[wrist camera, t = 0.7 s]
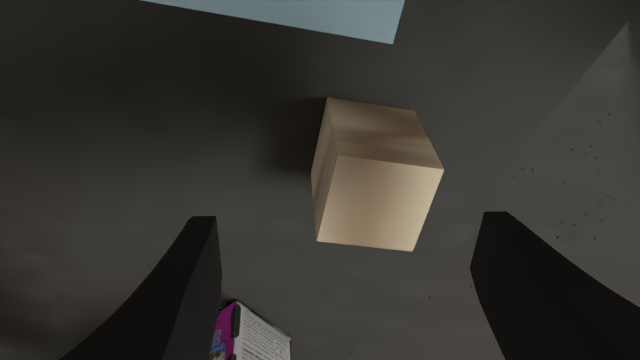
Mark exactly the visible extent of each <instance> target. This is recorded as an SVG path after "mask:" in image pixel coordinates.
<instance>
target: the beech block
mask: <svg viewBox="0 0 640 360" xmlns="http://www.w3.org/2000/svg"><path fill="white" fill-rule="evenodd" d="M443 171H444V168H443V166H442V164H441V162H440V160H439V158H438V156H437V154H436V152H435V150H434V148H433V146H432V144H431V142H430V140H429V138H428V136H427V134H426V132H425V130H424V129H423V127H422V125H421V123H420V121H419V119H418V117H417V115H416V113H415V111H414V110H407V109H401V108H394V107H388V106H381V105H375V104H368V103H362V102H355V101H349V100H342V99H336V98H330V97H327V101H326V106H325V110H324V115H323V119H322V124H321V129H320V133H319V138H318V142H317V147H316V151H315V156H314V161H313V165H312V170H311V182H312V194H313V205H314V216H315V227H316V238H317V241H321V242H330V243H339V244H348V245H358V246H367V247H376V248H385V249H395V250H404V251H413V249H414V247H415V244H416V242H417V239H418V236H419V234H420V231H421V229H422V226H423V223H424V221H425V218H426V216H427V213H428V210H429V208H430V205H431V203H432V200H433V197H434V195H435V192H436V190H437V187H438V184H439V182H440V179H441V177H442V174H443Z"/></svg>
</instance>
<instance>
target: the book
mask: <svg viewBox="0 0 640 360" xmlns="http://www.w3.org/2000/svg"><path fill="white" fill-rule="evenodd" d="M142 1H148V2H154V3H160V4H165V5H171V6H177V7H182V8H188V9H194V10H200V11H205V12H211V13H217V14H222V15H228V16H234V17H240V18H245V19H251V20H257V21H262V22H268V23H274V24H280V25H285V26H291V27H297V28H303V29H308V30H314V31H320V32H325V33H331V34H337V35H343V36H348V37H354V38H360V39H365V40H371V41H377V42H383V43H388V44H393V41H394V37H395V34H396V30H397V27H398V23H399V19H400V16H401V12H402V8H403V5H404V1H405V0H142Z"/></svg>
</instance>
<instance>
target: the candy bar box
mask: <svg viewBox="0 0 640 360" xmlns="http://www.w3.org/2000/svg"><path fill="white" fill-rule="evenodd" d="M209 360H292V357H291V339H290V337H289V336H288V335H287V334H286V333H284V332H283V331H281V330H280V329H279V328H278V327H276V326H274V325H272V324H271V323H269V322H268V321H266V320H264V319H263V318H261V317H260V316H259V315H257V314H256V313H255V312H253V311H252V310H251V309H249V308H248V307H246V306H245V305H243V304H242V303H240V302H239V301H234V302H232V303H231V304H229V305H228V306H227V307H225V308H224V309H222V310H221V311H220V312H218V316H217V321H216V326H215V331H214V336H213V340H212V345H211V350H210V355H209Z"/></svg>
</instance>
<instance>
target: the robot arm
mask: <svg viewBox="0 0 640 360" xmlns="http://www.w3.org/2000/svg"><path fill="white" fill-rule="evenodd" d="M470 270H471V274H472V278H473V281H474V285H475V288H476V292H477V295H478V298H479V301H480V304H481V306H482V308H483V311H484V313H485V315H486V317H487V320H488V322H489V324H490V327H491V329H492V331H493V333H494V335H495V338H496V340H497V342H498V344H499V346H500V349H501V351H502V353H503V355H504V358H505V360H640V307H638V306H636V305H635V304H633V303H631V302H630V301H628V300H626V299H625V298H623V297H621V296H620V295H618V294H617V293H615V292H613V291H612V290H610V289H609V288H607V287H606V286H604V285H603V284H601V283H600V282H598V281H597V280H596V279H594V278H593V277H591V276H590V275H588V274H587V273H586V272H584V271H583V270H581V269H580V268H579V267H577V266H576V265H575V264H573V263H572V262H570V261H569V260H568V259H567V258H565V257H564V256H563V255H561V254H560V253H559V252H557V251H556V250H555V249H554V248H552V247H551V246H550V245H548V244H547V243H546V242H545V241H543V240H542V239H541V238H540V237H538V236H537V235H536V234H535V233H533V232H532V231H531V230H530V229H529V228H527V227H526V226H525V225H523V224H522V223H521V222H520V221H518V220H517V219H516V218H515V217H513V216H512V215H510V214H509V213H508V212H506V211H504V212H484V215H483V219H482V223H481V227H480V230H479V234H478V238H477V242H476V246H475V250H474V254H473V257H472V261H471V265H470ZM221 281H222V268H221V259H220V250H219V241H218V232H217V222H216V216H194V217H191V218H190V219H189V220H188V222H187V223H186V225H185V226H184V228H183V229H182V231H181V232H180V234H179V235H178V237H177V238H176V240H175V241H174V242H173V244H172V245H171V247H170V248H169V249H168V251H167V252H166V253H165V255H164V256H163V257H162V259H161V260H160V261H159V262H158V264H157V265H156V266H155V268H154V269H153V270H152V271H151V273H150V274H149V275H148V276H147V277H146V279H145V280H144V281H143V282H142V283H141V284H140V285H139V287H138V288H137V289H136V290H135V291H134V292H133V293H132V295H131V296H130V297H129V298H128V299H127V300H126V301H125V302H124V303H123V304H122V305H121V306H120V307H119V308H118V309H117V310H116V311H115V312H114V313H113V314H112V315H111V316H110V317H109V318H108V319H107V320H106V321H105V322H104V323H103V324H102V325H101V326H99V327H98V328H97V329H96V330H95V331H94V332H93V333H91V334H90V335H89V336H88V337H87V338H86V339H85V340H83V341H82V342H81V343H80V344H79V345H77V346H76V347H75V348H74V349H73V350H71V351H70V352H69V353H68V354H66V355H65V356H64V357H62V358H61V359H60V360H209V355H210V350H211V345H212V340H213V336H214V331H215V326H216V321H217V316H218V311H219V304H220V293H221Z"/></svg>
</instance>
